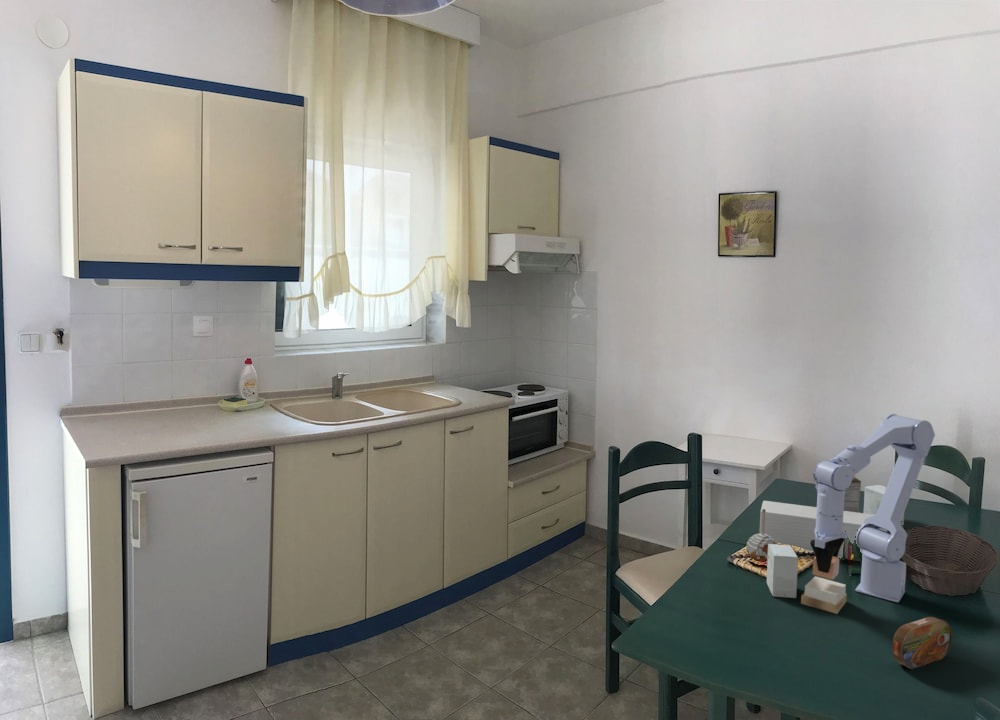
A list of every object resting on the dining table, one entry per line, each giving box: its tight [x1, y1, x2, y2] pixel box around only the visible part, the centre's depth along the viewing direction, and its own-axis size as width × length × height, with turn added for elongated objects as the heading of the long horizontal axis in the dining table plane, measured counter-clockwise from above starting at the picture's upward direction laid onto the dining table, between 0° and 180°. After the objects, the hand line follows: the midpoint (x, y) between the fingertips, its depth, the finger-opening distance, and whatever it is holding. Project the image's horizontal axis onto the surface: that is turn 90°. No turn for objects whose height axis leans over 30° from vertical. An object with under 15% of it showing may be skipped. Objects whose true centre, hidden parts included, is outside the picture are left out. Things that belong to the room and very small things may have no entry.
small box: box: [766, 544, 799, 599], centre depth 168 cm, size 8×6×10 cm
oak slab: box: [800, 591, 848, 615], centre depth 163 cm, size 8×8×2 cm
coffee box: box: [844, 477, 862, 513], centre depth 212 cm, size 9×6×16 cm
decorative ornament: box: [746, 509, 776, 562], centre depth 185 cm, size 8×8×15 cm
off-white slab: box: [804, 575, 847, 605], centre depth 162 cm, size 7×7×2 cm
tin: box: [892, 616, 953, 670], centre depth 137 cm, size 15×3×8 cm, turn 114°
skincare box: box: [863, 484, 905, 526], centre depth 217 cm, size 10×6×10 cm, turn 14°
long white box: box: [758, 500, 888, 560], centre depth 195 cm, size 32×11×11 cm, turn 65°
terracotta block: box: [812, 555, 840, 581], centre depth 162 cm, size 4×4×4 cm
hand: (826, 568), depth 162 cm, fingers closed on terracotta block, 4 cm apart
